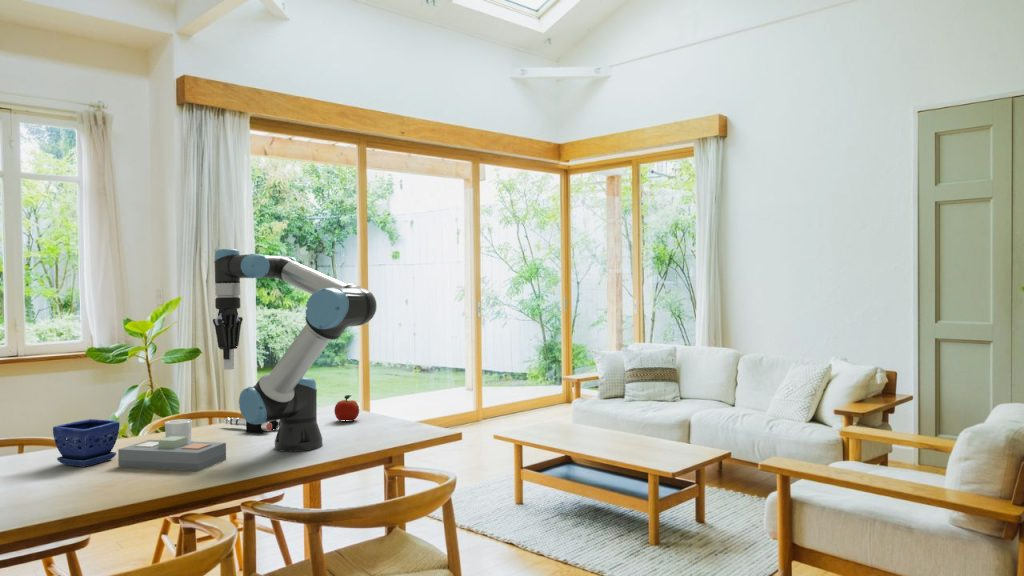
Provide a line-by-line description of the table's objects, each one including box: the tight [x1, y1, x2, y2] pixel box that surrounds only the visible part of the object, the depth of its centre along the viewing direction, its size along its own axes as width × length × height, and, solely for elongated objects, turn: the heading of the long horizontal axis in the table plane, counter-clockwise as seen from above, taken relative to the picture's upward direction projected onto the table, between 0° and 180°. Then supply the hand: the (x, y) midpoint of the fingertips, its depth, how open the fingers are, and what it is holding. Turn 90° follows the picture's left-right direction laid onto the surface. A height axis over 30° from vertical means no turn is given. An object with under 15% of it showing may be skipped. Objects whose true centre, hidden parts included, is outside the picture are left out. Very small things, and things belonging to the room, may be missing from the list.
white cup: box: [164, 418, 193, 441], centre depth 222 cm, size 8×8×10 cm
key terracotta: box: [182, 444, 210, 450], centre depth 207 cm, size 6×6×4 cm
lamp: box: [223, 417, 280, 434], centre depth 257 cm, size 11×5×25 cm
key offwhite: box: [136, 442, 159, 448], centre depth 210 cm, size 6×6×4 cm
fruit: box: [334, 394, 360, 421], centre depth 271 cm, size 10×10×10 cm
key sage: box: [158, 436, 187, 449], centre depth 208 cm, size 6×6×4 cm
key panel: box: [117, 439, 227, 472], centre depth 208 cm, size 27×13×5 cm, turn 78°
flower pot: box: [52, 418, 120, 468], centre depth 211 cm, size 13×13×12 cm
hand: (228, 369), depth 224 cm, fingers closed
